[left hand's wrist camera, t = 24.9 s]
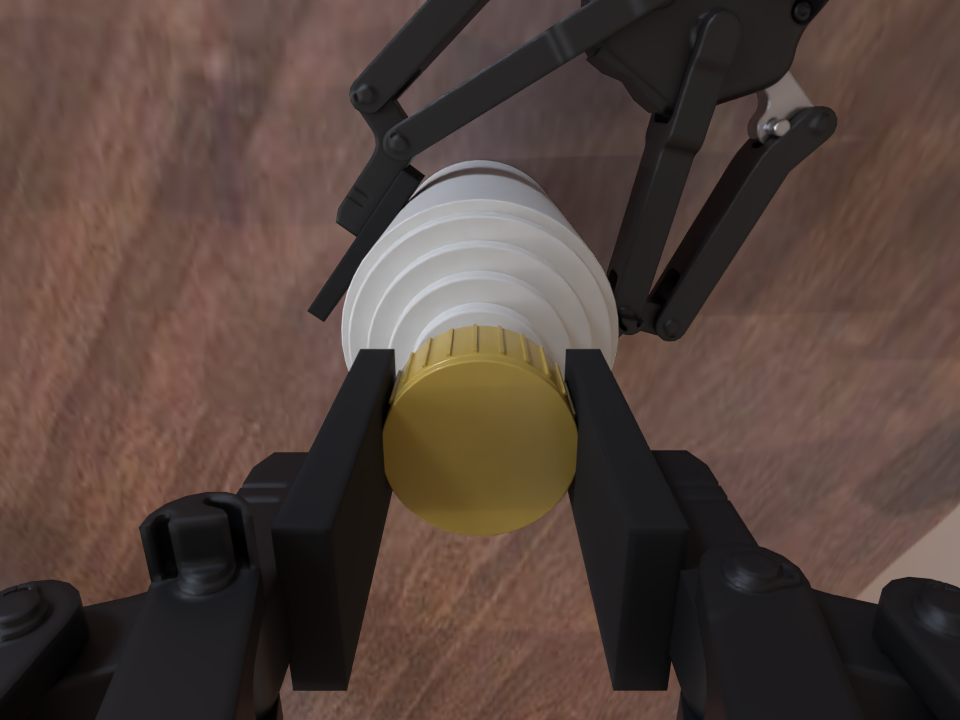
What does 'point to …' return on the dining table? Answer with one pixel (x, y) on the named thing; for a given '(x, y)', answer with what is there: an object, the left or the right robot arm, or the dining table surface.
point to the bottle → (480, 270)
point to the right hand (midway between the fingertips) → (412, 365)
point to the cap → (480, 432)
